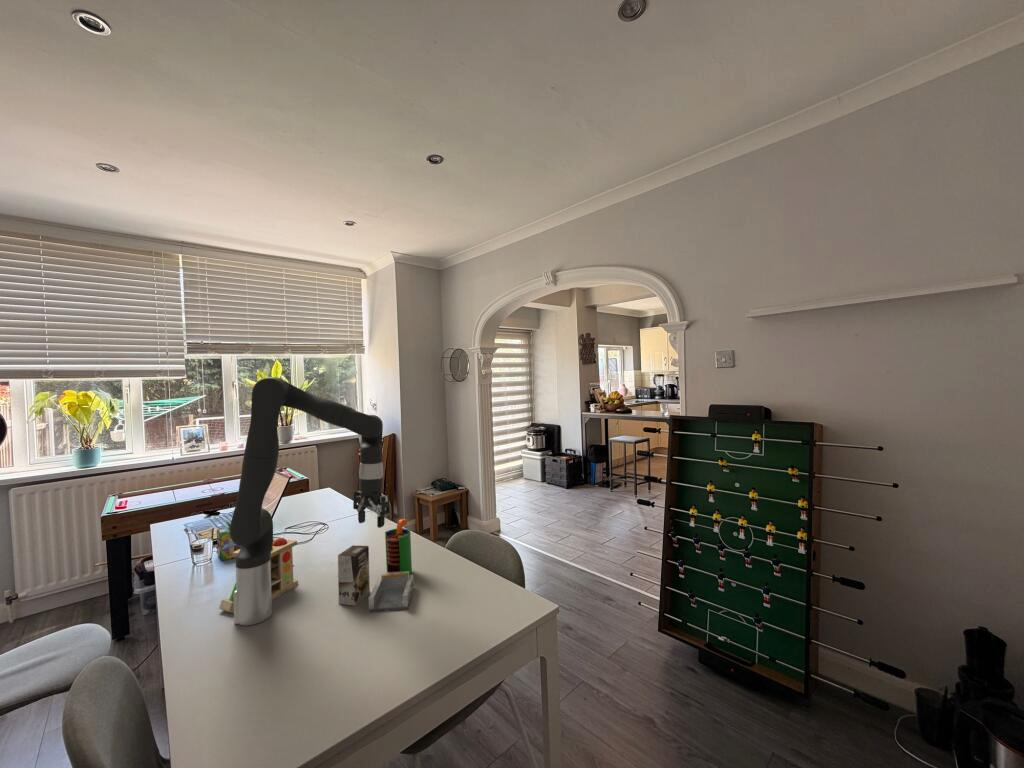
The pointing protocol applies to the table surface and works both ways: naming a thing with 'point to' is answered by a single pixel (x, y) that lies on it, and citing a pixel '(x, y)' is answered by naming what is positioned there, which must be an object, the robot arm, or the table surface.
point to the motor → (398, 548)
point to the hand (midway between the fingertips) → (371, 524)
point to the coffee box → (353, 574)
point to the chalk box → (225, 544)
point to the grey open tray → (392, 592)
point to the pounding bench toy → (273, 571)
